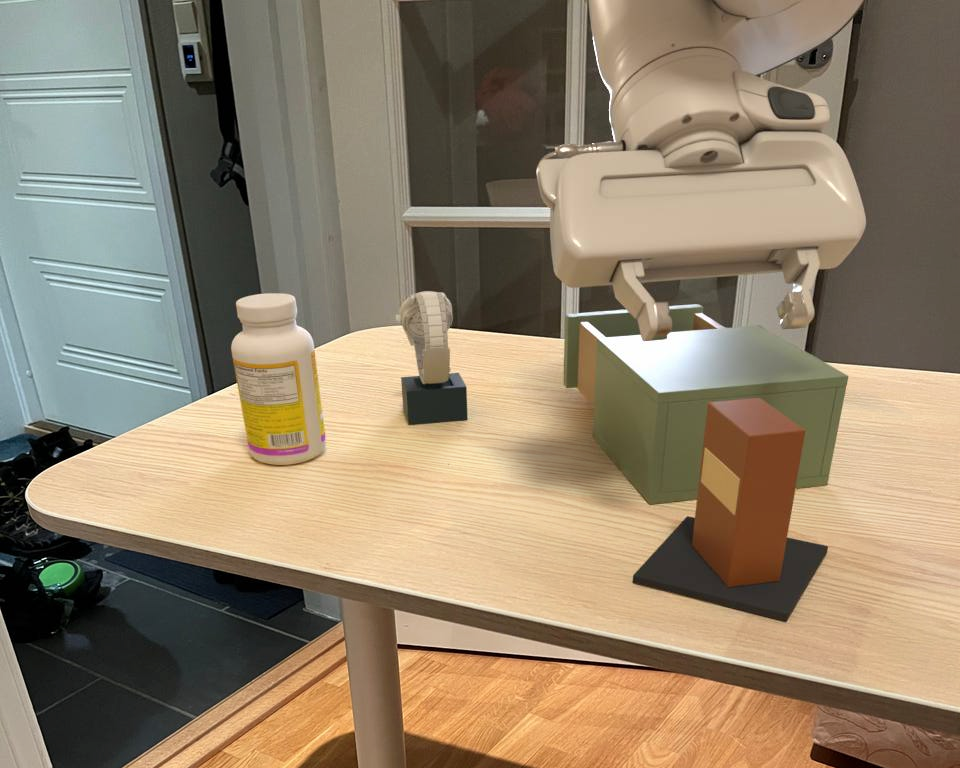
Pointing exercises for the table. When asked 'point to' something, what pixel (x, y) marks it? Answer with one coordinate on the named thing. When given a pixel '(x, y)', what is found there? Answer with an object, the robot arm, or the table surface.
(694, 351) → the cabinet
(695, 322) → the drawer
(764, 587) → the slate mat
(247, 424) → the supplement bottle
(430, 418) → the watch
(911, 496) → the table surface
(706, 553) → the brown rectangular block
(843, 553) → the table surface
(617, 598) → the table surface
